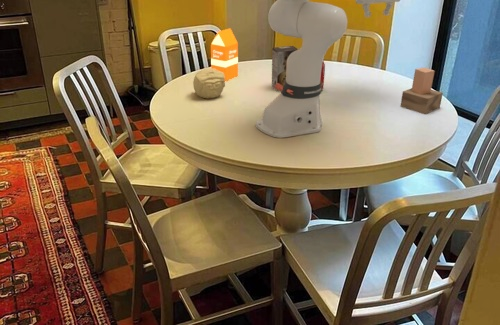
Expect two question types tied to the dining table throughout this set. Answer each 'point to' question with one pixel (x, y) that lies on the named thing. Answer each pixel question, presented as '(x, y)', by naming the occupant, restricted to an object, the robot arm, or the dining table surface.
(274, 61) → the coffee box
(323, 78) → the soda can
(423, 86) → the salmon pink block
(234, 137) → the dining table surface
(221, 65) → the orange juice
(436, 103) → the walnut box
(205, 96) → the sculpture
